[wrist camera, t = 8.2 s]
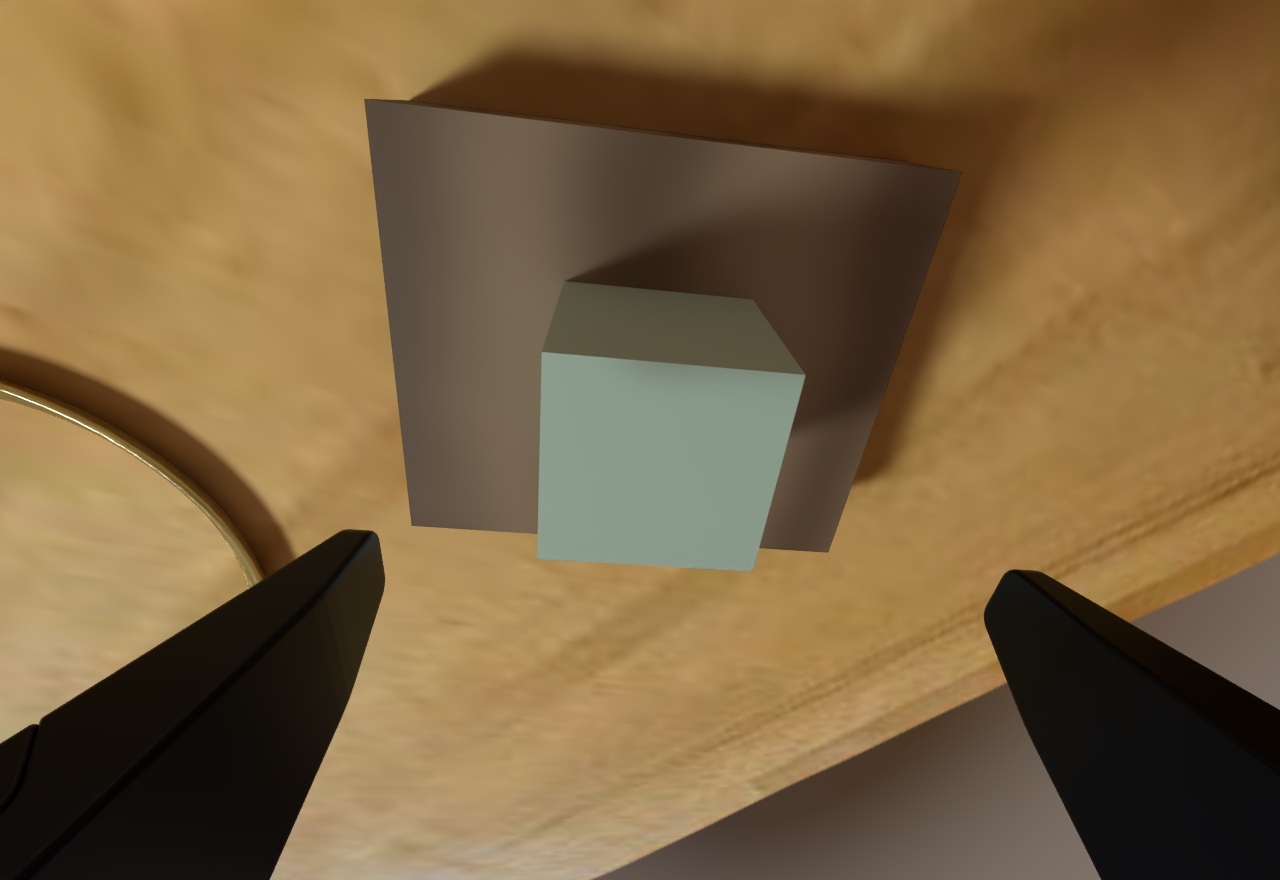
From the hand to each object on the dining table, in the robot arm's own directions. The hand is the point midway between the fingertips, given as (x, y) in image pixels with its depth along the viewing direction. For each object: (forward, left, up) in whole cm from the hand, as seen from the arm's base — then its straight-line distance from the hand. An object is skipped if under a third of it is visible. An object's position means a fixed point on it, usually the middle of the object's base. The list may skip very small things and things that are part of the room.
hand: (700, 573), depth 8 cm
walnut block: (0, +1, -12) cm, 12 cm away
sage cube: (0, +1, -9) cm, 9 cm away
